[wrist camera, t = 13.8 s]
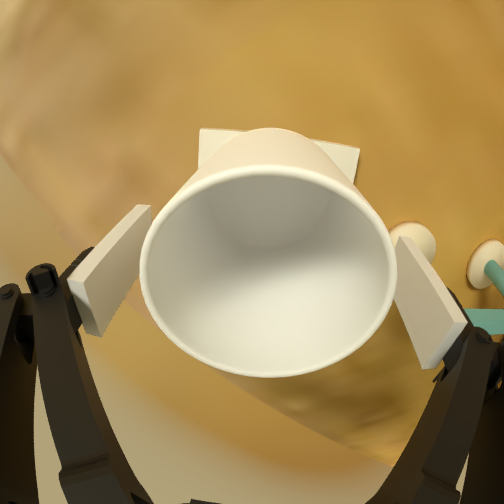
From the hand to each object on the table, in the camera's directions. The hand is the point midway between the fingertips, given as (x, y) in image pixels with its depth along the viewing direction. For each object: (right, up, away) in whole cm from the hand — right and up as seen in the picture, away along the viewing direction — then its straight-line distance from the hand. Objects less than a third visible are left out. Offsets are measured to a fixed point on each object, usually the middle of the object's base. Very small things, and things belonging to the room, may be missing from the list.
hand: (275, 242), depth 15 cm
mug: (+1, +2, +5) cm, 5 cm away
